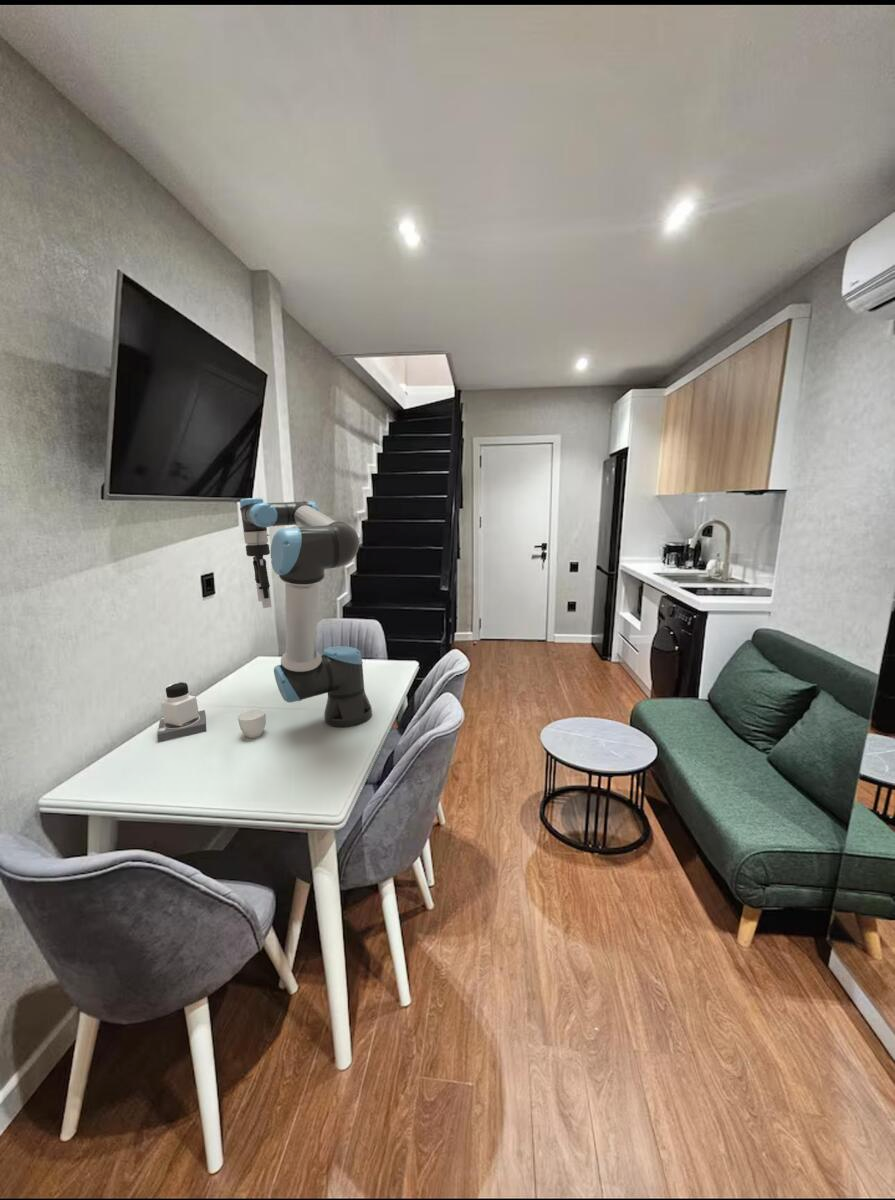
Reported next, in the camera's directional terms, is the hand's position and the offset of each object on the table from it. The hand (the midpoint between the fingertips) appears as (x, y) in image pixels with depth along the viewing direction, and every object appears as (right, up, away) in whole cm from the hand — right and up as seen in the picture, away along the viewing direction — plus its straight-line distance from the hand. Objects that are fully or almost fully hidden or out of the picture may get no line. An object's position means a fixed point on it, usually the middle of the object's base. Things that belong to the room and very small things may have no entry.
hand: (264, 604), depth 167 cm
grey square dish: (-20, -40, -16) cm, 47 cm away
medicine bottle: (-20, -37, -16) cm, 45 cm away
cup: (+5, -40, -21) cm, 45 cm away
